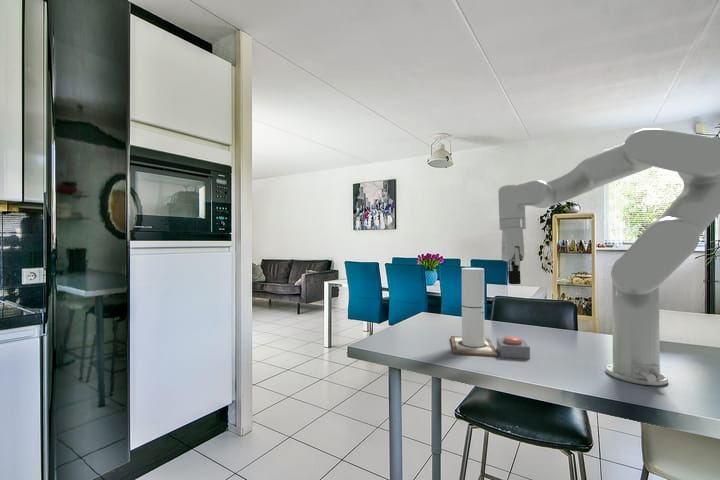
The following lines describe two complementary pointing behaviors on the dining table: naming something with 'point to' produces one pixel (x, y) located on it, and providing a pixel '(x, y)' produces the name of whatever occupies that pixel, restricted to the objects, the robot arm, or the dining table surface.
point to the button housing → (513, 349)
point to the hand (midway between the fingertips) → (514, 283)
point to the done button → (512, 340)
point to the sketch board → (473, 348)
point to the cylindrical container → (473, 307)
